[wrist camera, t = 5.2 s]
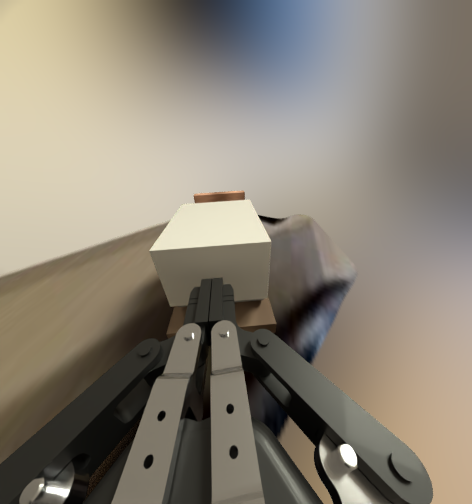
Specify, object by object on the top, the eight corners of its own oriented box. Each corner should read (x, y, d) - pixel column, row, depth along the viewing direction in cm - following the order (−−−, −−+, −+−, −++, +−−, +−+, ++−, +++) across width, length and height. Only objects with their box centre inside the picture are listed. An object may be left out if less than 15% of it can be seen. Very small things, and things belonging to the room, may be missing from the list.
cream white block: (176, 323, 17) (149, 251, 12) (193, 256, 27) (182, 204, 23) (266, 314, 17) (271, 241, 13) (249, 252, 27) (249, 199, 23)
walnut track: (170, 342, 17) (142, 281, 13) (200, 228, 41) (194, 193, 36) (275, 333, 17) (282, 270, 13) (244, 225, 41) (243, 190, 37)
